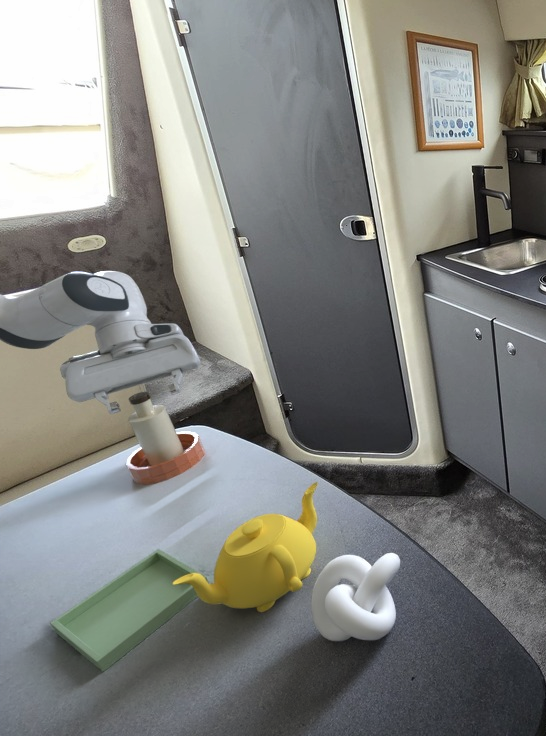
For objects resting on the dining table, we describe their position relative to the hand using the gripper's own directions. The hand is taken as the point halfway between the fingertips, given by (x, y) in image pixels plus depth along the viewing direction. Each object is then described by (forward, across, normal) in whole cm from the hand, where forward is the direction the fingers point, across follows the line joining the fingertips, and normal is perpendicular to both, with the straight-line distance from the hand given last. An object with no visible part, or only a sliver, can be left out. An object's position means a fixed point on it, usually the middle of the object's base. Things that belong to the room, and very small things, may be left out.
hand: (146, 402), depth 99 cm
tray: (+38, -5, -18) cm, 42 cm away
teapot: (+45, +12, -25) cm, 53 cm away
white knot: (+56, +20, -36) cm, 70 cm away
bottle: (+12, 0, +6) cm, 14 cm away
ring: (+13, 0, +7) cm, 15 cm away
